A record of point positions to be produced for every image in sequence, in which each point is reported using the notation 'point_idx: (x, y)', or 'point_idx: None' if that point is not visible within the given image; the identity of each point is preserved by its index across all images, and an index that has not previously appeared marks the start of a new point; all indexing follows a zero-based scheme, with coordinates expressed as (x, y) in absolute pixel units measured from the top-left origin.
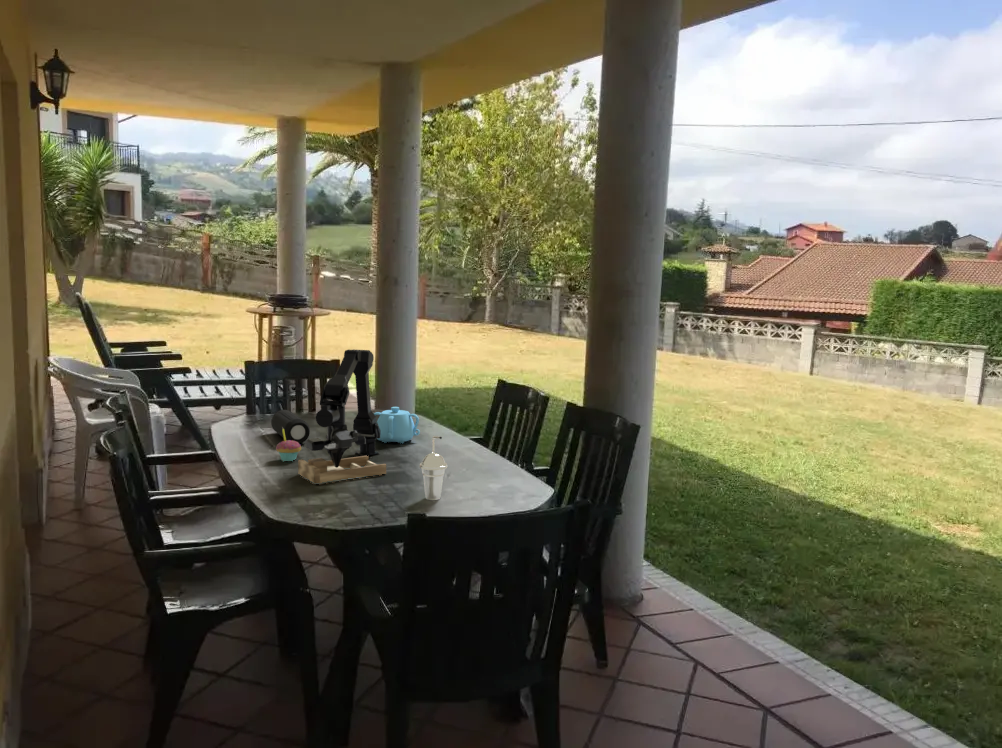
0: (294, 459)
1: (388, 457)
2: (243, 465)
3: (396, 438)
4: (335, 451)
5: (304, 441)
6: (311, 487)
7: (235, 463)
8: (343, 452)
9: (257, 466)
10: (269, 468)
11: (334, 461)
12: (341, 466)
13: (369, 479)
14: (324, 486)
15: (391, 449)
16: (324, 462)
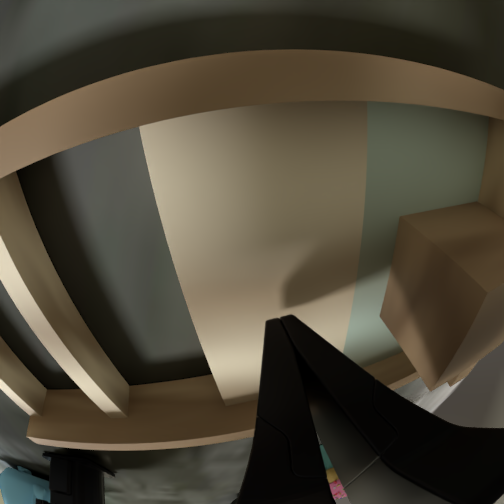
0: (323, 447)
1: (3, 426)
2: (435, 398)
3: (26, 480)
4: (451, 465)
5: (236, 499)
6: (490, 60)
7: (432, 406)
8: (249, 501)
9: (425, 396)
10: (422, 386)
11: (345, 357)
12: (185, 396)
13: (6, 62)
14: (441, 19)
15: (25, 458)
16: (495, 273)
